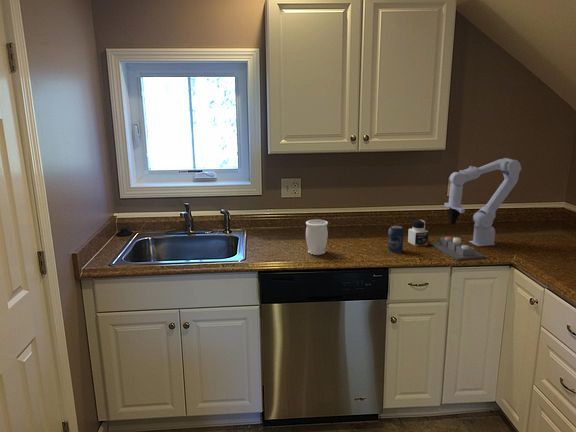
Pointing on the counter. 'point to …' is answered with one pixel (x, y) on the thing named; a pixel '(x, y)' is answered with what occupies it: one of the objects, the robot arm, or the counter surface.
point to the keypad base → (456, 250)
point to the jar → (316, 236)
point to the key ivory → (456, 240)
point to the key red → (448, 238)
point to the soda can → (395, 239)
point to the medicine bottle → (418, 233)
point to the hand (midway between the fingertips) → (452, 224)
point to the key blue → (465, 247)
